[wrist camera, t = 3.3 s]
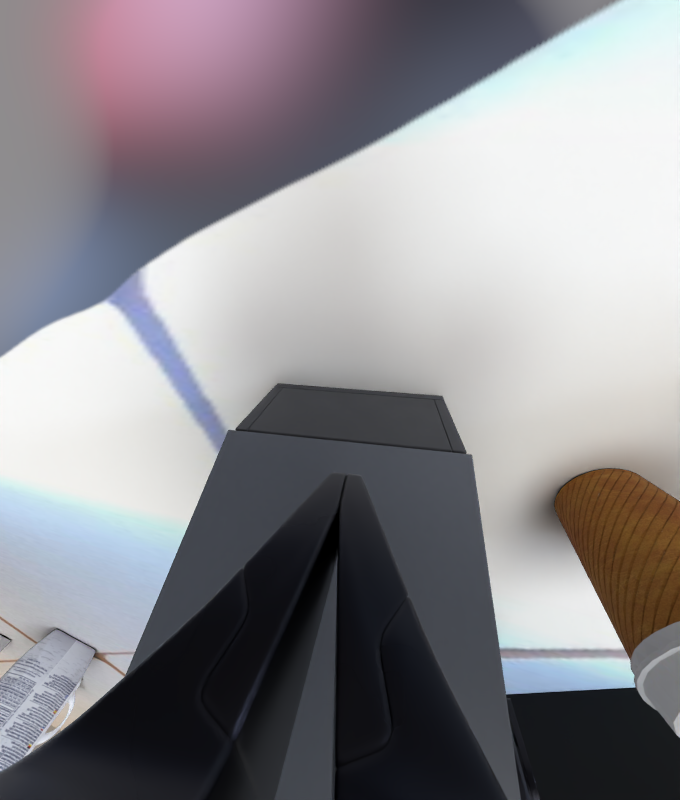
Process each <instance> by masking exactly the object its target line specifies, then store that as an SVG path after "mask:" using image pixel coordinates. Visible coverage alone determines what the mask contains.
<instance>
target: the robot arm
mask: <svg viewBox="0 0 680 800" xmlns="http://www.w3.org/2000/svg"><path fill="white" fill-rule="evenodd" d="M337 555H338V559H337ZM336 560H337V595H336V635H335V675H334V716H333V756H332V796H331V800H508V799H507V797H506V795H505V793H504V791H503V789H502V787H501V785H500V783H499V781H498V779H497V777H496V776H495V774H494V772H493V770H492V768H491V766H490V764H489V762H488V760H487V758H486V756H485V754H484V752H483V750H482V748H481V746H480V744H479V742H478V740H477V738H476V736H475V734H474V733H473V731H472V729H471V727H470V725H469V723H468V721H467V719H466V717H465V715H464V713H463V711H462V709H461V707H460V705H459V703H458V701H457V699H456V697H455V695H454V693H453V691H452V689H451V687H450V685H449V683H448V681H447V679H446V677H445V675H444V673H443V671H442V669H441V667H440V665H439V663H438V661H437V658H436V656H435V654H434V652H433V650H432V648H431V645H430V643H429V641H428V639H427V636H426V634H425V632H424V629H423V627H422V625H421V622H420V620H419V618H418V615H417V612H416V610H415V607H414V605H413V602H412V600H411V598H410V597H408V596H409V593H408V590H407V588H406V585H405V583H404V580H403V578H402V575H401V573H400V570H399V568H398V565H397V563H396V560H395V558H394V555H393V553H392V550H391V548H390V545H389V543H388V540H387V538H386V535H385V533H384V530H383V528H382V525H381V523H380V520H379V518H378V515H377V513H376V510H375V508H374V505H373V502H372V500H371V497H370V495H369V492H368V490H367V487H366V485H365V482H364V480H363V478H362V476H361V475H355V474H347V476H346V474H345V473H339V472H332V473H330V474H329V475H328V476H327V477H326V479H325V480H324V481H323V482H322V483H321V484H320V485H319V486H318V487H317V488H316V489H315V490H314V491H313V492H312V493H311V494H310V495H309V496H308V498H307V499H306V500H305V501H304V502H303V503H302V504H301V505H300V506H299V507H298V508H297V509H296V510H295V511H294V512H293V513H292V514H291V515H290V517H289V518H288V519H287V520H286V521H285V522H284V523H283V524H282V525H281V526H280V527H279V528H278V529H277V530H276V531H275V532H274V533H273V534H272V536H271V537H270V538H269V539H268V540H267V541H266V542H265V543H264V544H263V545H262V546H261V547H260V548H259V549H258V550H257V551H256V552H255V554H254V555H253V556H252V557H251V558H250V559H249V560H248V561H247V562H246V563H245V564H244V566H243V568H244V569H243V568H240V569H239V570H238V571H237V572H236V573H235V574H234V575H233V577H232V578H231V579H230V580H229V581H228V582H227V583H226V584H225V585H224V586H223V587H222V588H221V589H220V590H219V591H218V592H217V593H216V594H215V595H214V596H213V597H212V598H211V599H210V600H209V601H208V602H207V603H206V604H205V605H204V606H203V607H202V608H201V609H200V610H199V611H198V612H196V613H195V614H194V615H193V616H192V617H191V618H190V619H189V620H188V621H187V622H186V623H185V624H183V625H182V626H181V627H180V628H179V629H178V630H177V631H176V632H175V633H174V634H173V635H171V636H170V637H169V638H168V639H167V640H166V641H165V642H164V643H162V644H161V645H160V646H159V647H158V648H157V649H156V650H155V651H153V652H152V653H151V654H150V655H149V656H148V657H147V658H146V659H144V660H143V661H142V662H141V663H140V664H139V665H138V666H137V667H135V668H134V669H133V670H132V671H131V672H130V673H129V674H128V675H126V676H125V677H124V678H123V679H122V680H121V681H120V682H119V683H117V684H116V685H115V686H114V687H113V688H112V689H111V690H110V691H108V692H107V693H106V694H105V695H104V696H103V697H102V698H101V699H99V700H98V701H97V702H96V703H95V704H94V705H93V706H91V707H90V708H89V709H88V710H87V711H86V712H84V713H83V714H82V715H81V716H80V717H79V718H77V719H76V720H75V721H74V722H72V723H71V724H70V725H69V726H67V727H66V728H65V729H63V730H62V731H61V732H60V733H58V734H57V735H56V736H54V737H53V738H51V739H50V740H49V741H47V742H46V743H44V744H43V745H42V746H40V747H39V748H37V749H36V750H34V751H33V752H31V753H30V754H28V755H27V756H25V757H24V758H22V759H21V760H19V761H17V762H16V763H14V764H12V765H11V766H9V767H7V768H6V769H4V770H2V771H1V772H0V800H275V796H276V792H277V788H278V784H279V781H280V777H281V773H282V769H283V765H284V761H285V757H286V754H287V750H288V746H289V742H290V738H291V734H292V730H293V727H294V723H295V719H296V715H297V711H298V707H299V703H300V700H301V696H302V692H303V688H304V684H305V680H306V676H307V673H308V669H309V665H310V661H311V657H312V653H313V649H314V646H315V642H316V638H317V634H318V630H319V626H320V622H321V619H322V615H323V611H324V607H325V603H326V599H327V595H328V592H329V588H330V584H331V580H332V576H333V572H334V568H335V564H336ZM507 705H508V713H509V720H510V727H511V734H512V741H513V748H514V755H515V762H516V769H517V776H518V783H519V790H520V797H521V800H540V797H539V793H538V789H537V786H536V782H535V779H534V775H533V772H532V768H531V765H530V761H529V758H528V755H527V751H526V748H525V745H524V741H523V738H522V735H521V732H520V728H519V725H518V722H517V718H516V715H515V712H514V709H513V705H512V702H511V699H509V698H507Z"/></svg>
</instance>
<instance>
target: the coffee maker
mask: <svg viewBox="0 0 680 800" xmlns="http://www.w3.org/2000/svg"><path fill="white" fill-rule="evenodd" d="M506 698H509V699H511V702H512V705H513V709H514V712H515V715H516V718H517V722H518V725H519V728H520V732H521V735H522V738H523V741H524V745H525V748H526V751H527V755H528V758H529V761H530V765H531V768H532V772H533V775H534V779H535V782H536V786H537V789H538V793H539V797H540V800H680V737H679V736H677V735H676V733H675V732H674V731H673V730H672V728H671V727H670V726H669V724H668V723H667V722H666V721H665V719H664V718H663V717H662V716H661V714H660V713H659V712H658V711H657V710H655V709H654V708H652V707H651V706H650V705H649V704H647V703H646V702H645V701H644V700H643V699H642V697H641V695H640V694H639V692H638V690H637V688H628V689H610V690H591V691H573V692H554V693H536V694H517V695H506Z"/></svg>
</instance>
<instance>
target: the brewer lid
mask: <svg viewBox="0 0 680 800" xmlns="http://www.w3.org/2000/svg"><path fill="white" fill-rule="evenodd" d="M332 472H339V473H345V474H346V476H347V474H355V475H361V476H362V478H363V480H364V482H365V485H366V487H367V490H368V492H369V495H370V497H371V500H372V502H373V505H374V508H375V510H376V513H377V515H378V518H379V520H380V523H381V525H382V528H383V530H384V533H385V535H386V538H387V540H388V543H389V545H390V548H391V550H392V553H393V555H394V558H395V560H396V563H397V565H398V568H399V570H400V573H401V575H402V578H403V580H404V583H405V585H406V588H407V590H408V593H409V596H408V597H410V598H411V600H412V602H413V605H414V607H415V610H416V612H417V615H418V618H419V620H420V622H421V625H422V627H423V629H424V632H425V634H426V636H427V639H428V641H429V643H430V645H431V648H432V650H433V652H434V654H435V656H436V658H437V661H438V663H439V665H440V667H441V669H442V671H443V673H444V675H445V677H446V679H447V681H448V683H449V685H450V687H451V689H452V691H453V693H454V695H455V697H456V699H457V701H458V703H459V705H460V707H461V709H462V711H463V713H464V715H465V717H466V719H467V721H468V723H469V725H470V727H471V729H472V731H473V733H474V734H475V736H476V738H477V740H478V742H479V744H480V746H481V748H482V750H483V752H484V754H485V756H486V758H487V760H488V762H489V764H490V766H491V768H492V770H493V772H494V774H495V776H496V777H497V779H498V781H499V783H500V785H501V787H502V789H503V791H504V793H505V795H506V797H507V799H508V800H521V797H520V790H519V783H518V776H517V769H516V762H515V755H514V748H513V741H512V734H511V727H510V720H509V713H508V705H507V698H506V691H505V684H504V677H503V670H502V663H501V656H500V649H499V642H498V635H497V628H496V621H495V614H494V607H493V600H492V593H491V586H490V579H489V572H488V565H487V558H486V551H485V544H484V537H483V530H482V523H481V516H480V509H479V502H478V495H477V488H476V481H475V473H474V466H473V459H472V455H470V454H460V453H451V452H441V451H431V450H421V449H411V448H401V447H392V446H382V445H372V444H362V443H352V442H342V441H333V440H323V439H313V438H303V437H293V436H283V435H274V434H264V433H254V432H244V431H234V430H228V432H227V435H226V437H225V440H224V442H223V444H222V447H221V449H220V451H219V454H218V456H217V459H216V461H215V463H214V466H213V468H212V471H211V473H210V475H209V478H208V480H207V482H206V485H205V487H204V490H203V492H202V494H201V497H200V499H199V501H198V504H197V506H196V509H195V511H194V513H193V516H192V518H191V521H190V523H189V525H188V528H187V530H186V532H185V535H184V537H183V540H182V542H181V544H180V547H179V549H178V552H177V554H176V556H175V559H174V561H173V563H172V566H171V568H170V571H169V573H168V575H167V578H166V580H165V582H164V585H163V587H162V590H161V592H160V594H159V597H158V599H157V602H156V604H155V606H154V609H153V611H152V613H151V616H150V618H149V621H148V623H147V625H146V628H145V630H144V633H143V635H142V637H141V640H140V642H139V644H138V647H137V649H136V652H135V654H134V656H133V659H132V661H131V663H130V666H129V668H128V671H127V673H126V675H128V674H129V673H130V672H131V671H132V670H133V669H134V668H135V667H137V666H138V665H139V664H140V663H141V662H142V661H143V660H144V659H146V658H147V657H148V656H149V655H150V654H151V653H152V652H153V651H155V650H156V649H157V648H158V647H159V646H160V645H161V644H162V643H164V642H165V641H166V640H167V639H168V638H169V637H170V636H171V635H173V634H174V633H175V632H176V631H177V630H178V629H179V628H180V627H181V626H182V625H183V624H185V623H186V622H187V621H188V620H189V619H190V618H191V617H192V616H193V615H194V614H195V613H196V612H198V611H199V610H200V609H201V608H202V607H203V606H204V605H205V604H206V603H207V602H208V601H209V600H210V599H211V598H212V597H213V596H214V595H215V594H216V593H217V592H218V591H219V590H220V589H221V588H222V587H223V586H224V585H225V584H226V583H227V582H228V581H229V580H230V579H231V578H232V577H233V575H234V574H235V573H236V572H237V571H238V570H239V569H240V568H243V566H244V564H245V563H246V562H247V561H248V560H249V559H250V558H251V557H252V556H253V555H254V554H255V552H256V551H257V550H258V549H259V548H260V547H261V546H262V545H263V544H264V543H265V542H266V541H267V540H268V539H269V538H270V537H271V536H272V534H273V533H274V532H275V531H276V530H277V529H278V528H279V527H280V526H281V525H282V524H283V523H284V522H285V521H286V520H287V519H288V518H289V517H290V515H291V514H292V513H293V512H294V511H295V510H296V509H297V508H298V507H299V506H300V505H301V504H302V503H303V502H304V501H305V500H306V499H307V498H308V496H309V495H310V494H311V493H312V492H313V491H314V490H315V489H316V488H317V487H318V486H319V485H320V484H321V483H322V482H323V481H324V480H325V479H326V477H327V476H328V475H329V474H330V473H332ZM337 559H338V555H337ZM243 569H244V568H243ZM336 595H337V560H336V564H335V568H334V572H333V576H332V580H331V584H330V588H329V592H328V595H327V599H326V603H325V607H324V611H323V615H322V619H321V622H320V626H319V630H318V634H317V638H316V642H315V646H314V649H313V653H312V657H311V661H310V665H309V669H308V673H307V676H306V680H305V684H304V688H303V692H302V696H301V700H300V703H299V707H298V711H297V715H296V719H295V723H294V727H293V730H292V734H291V738H290V742H289V746H288V750H287V754H286V757H285V761H284V765H283V769H282V773H281V777H280V781H279V784H278V788H277V792H276V796H275V800H331V796H332V756H333V716H334V675H335V635H336ZM126 675H125V676H126Z"/></svg>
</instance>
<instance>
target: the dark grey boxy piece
mask: <svg viewBox="0 0 680 800" xmlns="http://www.w3.org/2000/svg"><path fill="white" fill-rule="evenodd" d="M236 431H244V432H254V433H264V434H274V435H283V436H293V437H303V438H313V439H323V440H333V441H342V442H352V443H362V444H372V445H382V446H392V447H401V448H411V449H421V450H431V451H441V452H451V453H460V454H466V450H465V448H464V445H463V443H462V441H461V438H460V436H459V434H458V431H457V429H456V427H455V424H454V422H453V420H452V418H451V415H450V413H449V411H448V408H447V406H446V404H445V401H444V399H443V397H442V396H433V395H420V394H407V393H394V392H381V391H368V390H355V389H342V388H329V387H316V386H303V385H290V384H277V385H276V386H275V387H274V388H273V389H272V390H271V391H270V392H269V393H268V394H267V395H266V396H265V397H264V399H263V400H262V401H261V402H260V403H259V404H258V405H257V406H256V407H255V408H254V409H253V410H252V412H251V413H250V414H249V415H248V416H247V417H246V418H245V419H244V420H243V421H242V422H241V423H240V424H239V426H238V427H237V428H236Z"/></svg>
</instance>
